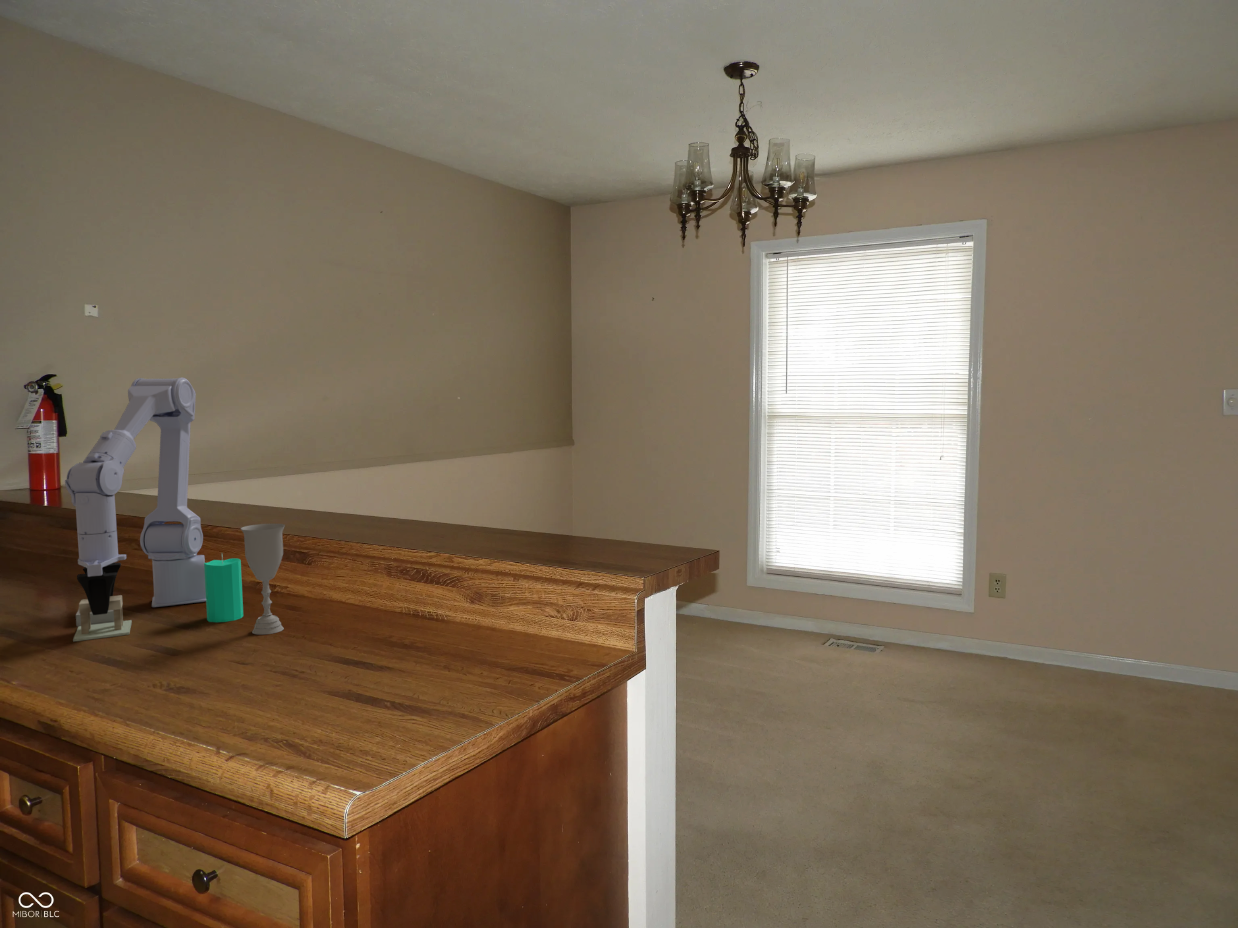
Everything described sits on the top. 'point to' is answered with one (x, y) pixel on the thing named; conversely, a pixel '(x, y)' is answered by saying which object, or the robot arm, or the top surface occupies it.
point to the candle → (223, 590)
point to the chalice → (264, 567)
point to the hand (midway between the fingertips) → (102, 609)
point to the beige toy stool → (113, 605)
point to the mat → (103, 631)
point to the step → (97, 618)
